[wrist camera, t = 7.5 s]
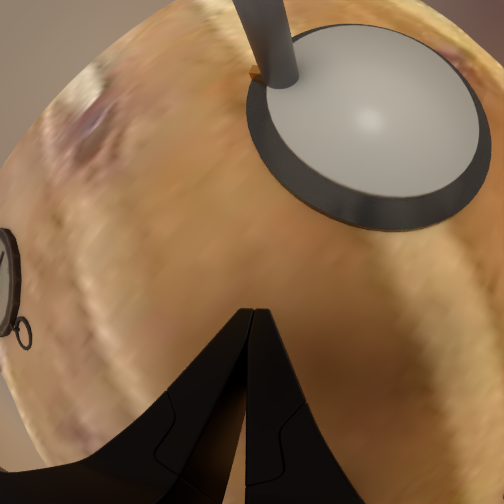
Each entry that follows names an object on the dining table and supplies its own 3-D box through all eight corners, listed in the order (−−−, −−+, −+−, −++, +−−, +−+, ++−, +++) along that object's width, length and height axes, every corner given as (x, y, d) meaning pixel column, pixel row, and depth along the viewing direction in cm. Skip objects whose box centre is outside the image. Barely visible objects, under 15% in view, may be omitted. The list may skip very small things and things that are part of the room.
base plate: (508, 113, 17) (516, 104, 15) (411, 295, 18) (420, 294, 16) (335, 9, 23) (335, -3, 21) (199, 129, 24) (190, 118, 22)
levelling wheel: (503, 184, 16) (598, 104, 3) (293, 221, 20) (240, 106, 7) (420, 30, 19) (435, -65, 7) (253, 48, 23) (209, -58, 10)
